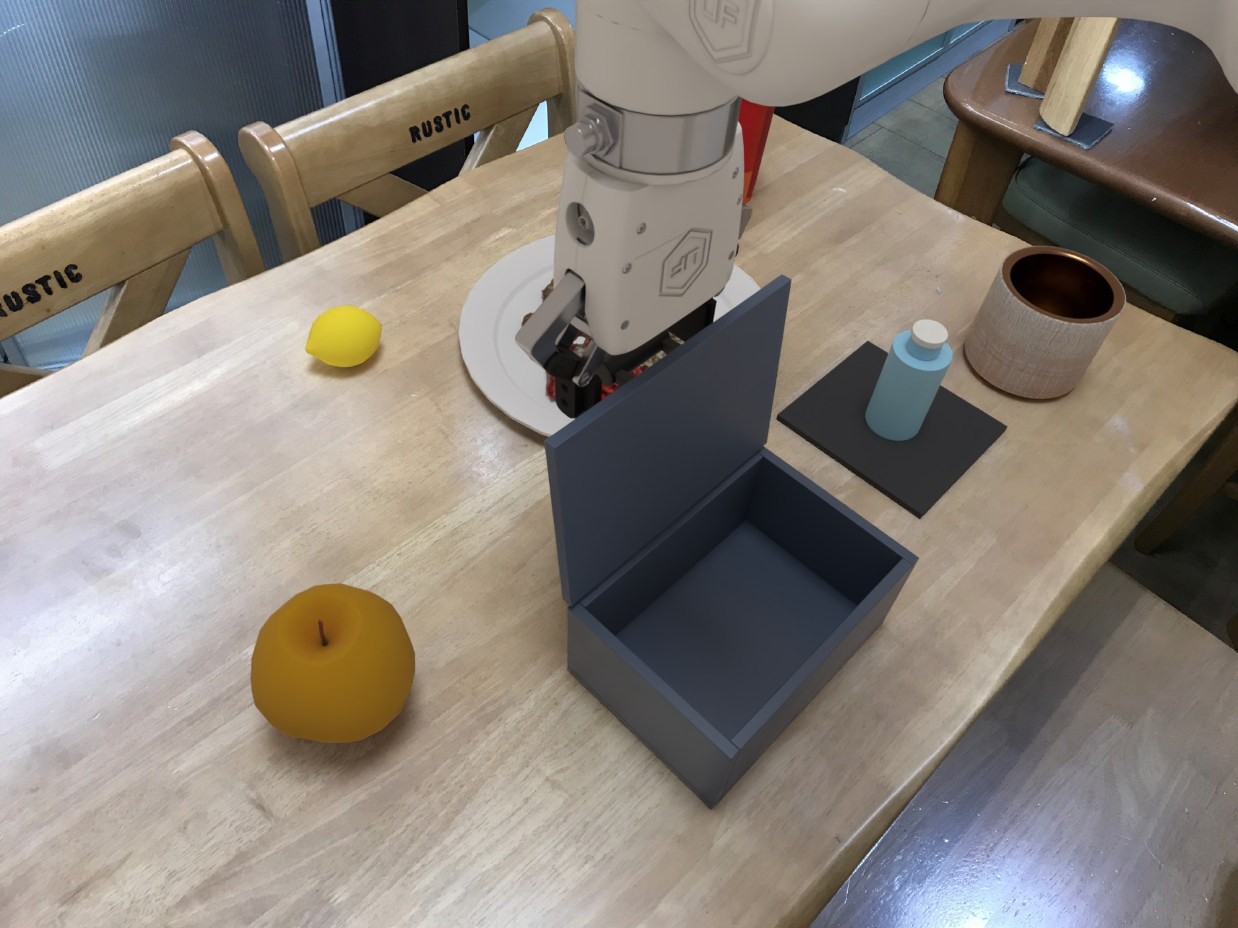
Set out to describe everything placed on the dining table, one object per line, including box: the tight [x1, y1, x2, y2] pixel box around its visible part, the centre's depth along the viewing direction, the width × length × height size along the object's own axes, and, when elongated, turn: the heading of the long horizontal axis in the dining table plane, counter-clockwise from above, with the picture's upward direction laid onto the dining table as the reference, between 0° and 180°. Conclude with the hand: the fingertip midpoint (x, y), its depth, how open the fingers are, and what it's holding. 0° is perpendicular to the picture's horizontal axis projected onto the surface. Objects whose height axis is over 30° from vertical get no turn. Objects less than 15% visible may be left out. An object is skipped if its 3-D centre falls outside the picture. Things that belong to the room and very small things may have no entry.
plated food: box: [458, 234, 781, 438], centre depth 83 cm, size 30×30×3 cm
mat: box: [775, 340, 1008, 519], centre depth 78 cm, size 15×14×1 cm
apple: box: [250, 582, 416, 744], centre depth 56 cm, size 10×10×12 cm
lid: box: [544, 274, 793, 606], centre depth 56 cm, size 14×20×5 cm
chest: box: [566, 445, 920, 810], centre depth 61 cm, size 14×20×9 cm
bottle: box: [865, 319, 954, 441], centre depth 74 cm, size 5×5×11 cm
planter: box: [964, 245, 1127, 400], centre depth 81 cm, size 11×11×10 cm
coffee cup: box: [738, 98, 776, 205], centre depth 94 cm, size 8×8×15 cm
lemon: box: [304, 304, 383, 368], centre depth 79 cm, size 7×5×5 cm
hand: (634, 375), depth 54 cm, fingers open, 9 cm apart
